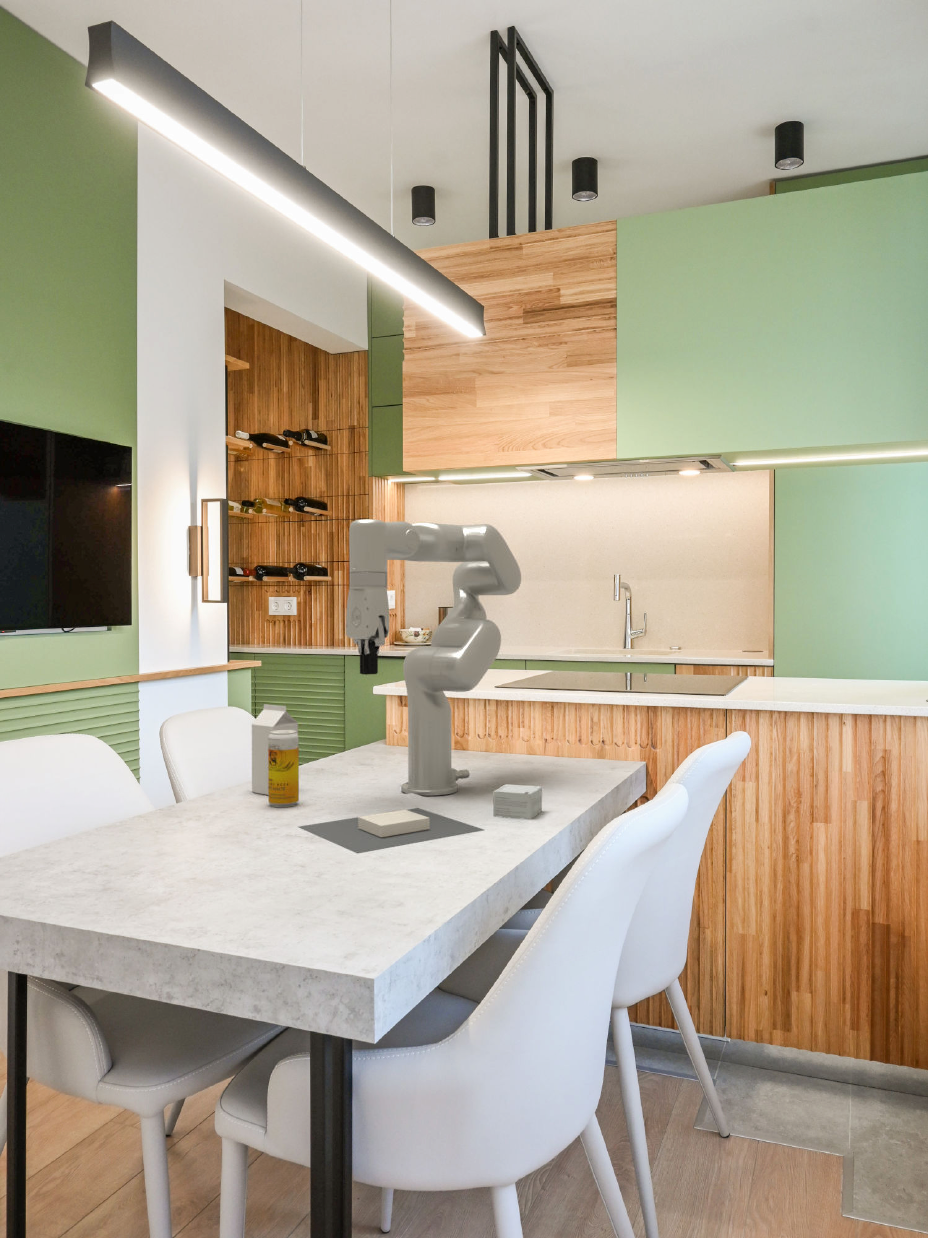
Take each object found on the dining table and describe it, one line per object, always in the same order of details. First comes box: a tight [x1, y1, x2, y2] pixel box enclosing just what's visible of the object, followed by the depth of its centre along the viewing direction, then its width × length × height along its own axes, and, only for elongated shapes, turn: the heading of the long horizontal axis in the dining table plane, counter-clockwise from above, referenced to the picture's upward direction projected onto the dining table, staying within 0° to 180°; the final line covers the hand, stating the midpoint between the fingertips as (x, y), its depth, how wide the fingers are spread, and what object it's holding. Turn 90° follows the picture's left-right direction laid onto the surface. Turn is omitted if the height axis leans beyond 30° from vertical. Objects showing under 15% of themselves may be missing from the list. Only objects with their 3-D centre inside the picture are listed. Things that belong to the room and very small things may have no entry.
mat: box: [298, 807, 485, 854], centre depth 164 cm, size 26×22×1 cm
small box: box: [492, 783, 543, 820], centre depth 178 cm, size 8×8×5 cm
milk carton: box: [251, 703, 299, 795], centre depth 199 cm, size 7×7×19 cm
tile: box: [358, 809, 429, 837], centre depth 163 cm, size 10×2×8 cm
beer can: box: [267, 730, 300, 808], centre depth 186 cm, size 6×6×15 cm
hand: (368, 673), depth 182 cm, fingers closed
